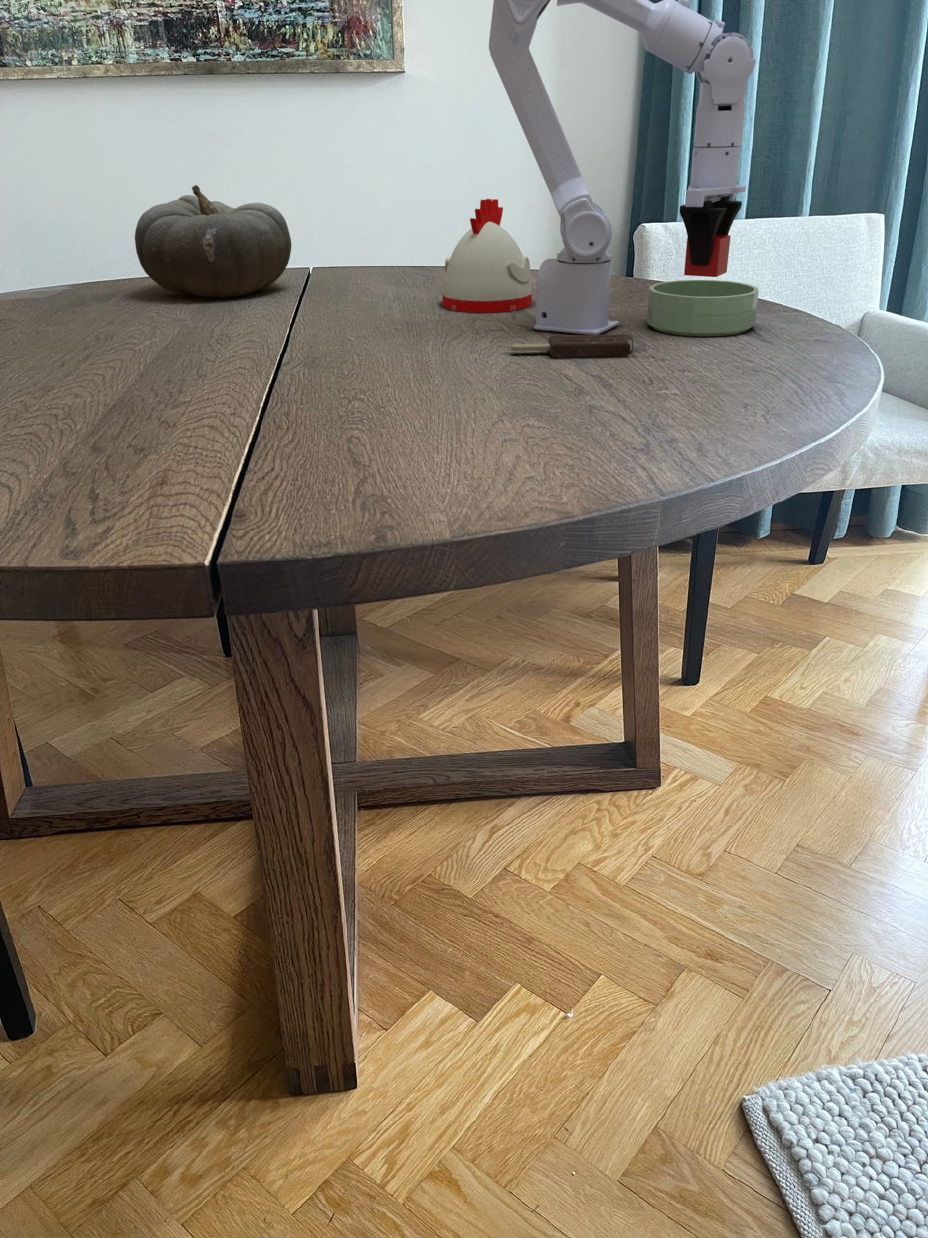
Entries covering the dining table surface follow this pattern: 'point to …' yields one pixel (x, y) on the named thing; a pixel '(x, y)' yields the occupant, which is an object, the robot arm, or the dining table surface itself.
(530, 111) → the robot arm
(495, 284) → the kitchen timer
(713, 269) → the red cube
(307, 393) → the dining table surface
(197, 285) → the gourd
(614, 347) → the ice cream bar
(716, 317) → the bowl
